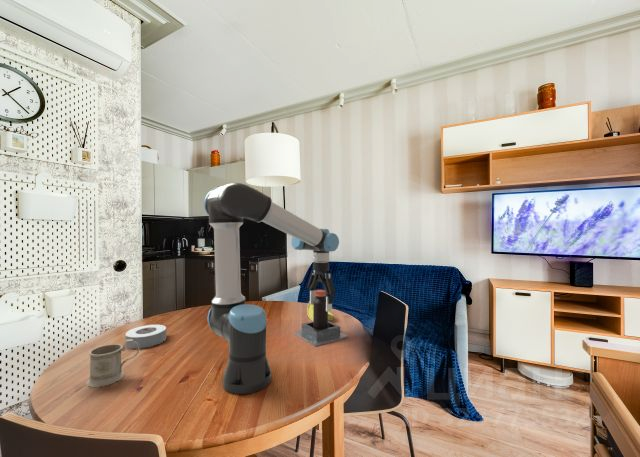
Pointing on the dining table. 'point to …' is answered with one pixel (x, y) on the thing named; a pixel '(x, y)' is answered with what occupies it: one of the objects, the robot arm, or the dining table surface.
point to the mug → (107, 364)
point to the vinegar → (320, 311)
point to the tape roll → (146, 336)
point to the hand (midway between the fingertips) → (320, 307)
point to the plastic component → (310, 313)
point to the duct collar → (320, 334)
